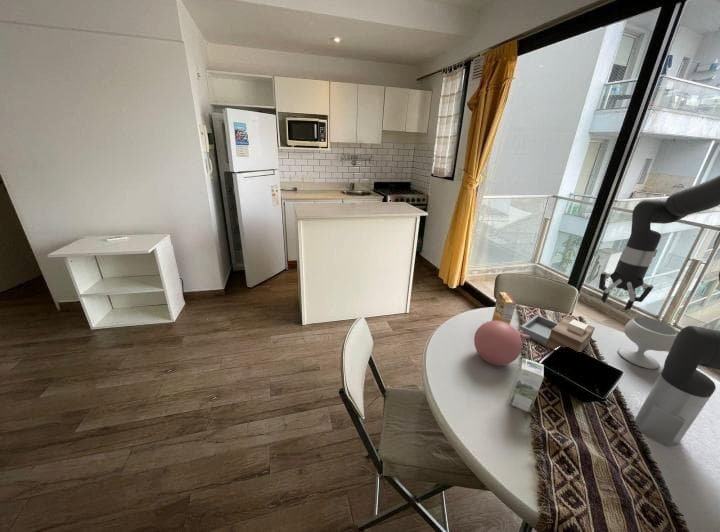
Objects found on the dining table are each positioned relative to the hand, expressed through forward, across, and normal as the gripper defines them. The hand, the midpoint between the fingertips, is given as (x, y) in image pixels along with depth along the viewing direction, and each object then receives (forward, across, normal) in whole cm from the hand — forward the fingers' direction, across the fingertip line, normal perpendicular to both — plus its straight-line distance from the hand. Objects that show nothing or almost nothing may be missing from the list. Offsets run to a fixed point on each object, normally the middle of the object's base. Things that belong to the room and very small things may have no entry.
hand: (615, 305), depth 102 cm
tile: (+14, -8, 0) cm, 16 cm away
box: (+22, -19, 0) cm, 29 cm away
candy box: (+23, -31, -12) cm, 40 cm away
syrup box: (+23, -7, -46) cm, 51 cm away
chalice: (+23, +11, +14) cm, 29 cm away
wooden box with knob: (+22, -8, 0) cm, 24 cm away
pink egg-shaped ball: (+23, -21, -32) cm, 44 cm away
